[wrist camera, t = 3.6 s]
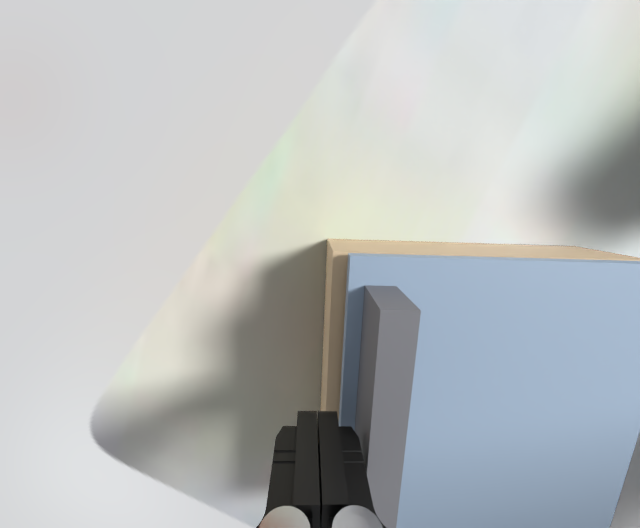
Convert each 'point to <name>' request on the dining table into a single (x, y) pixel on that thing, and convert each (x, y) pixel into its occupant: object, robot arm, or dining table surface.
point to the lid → (492, 387)
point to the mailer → (342, 247)
